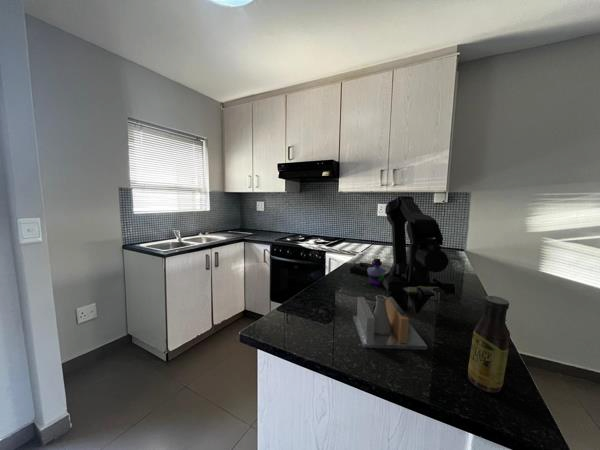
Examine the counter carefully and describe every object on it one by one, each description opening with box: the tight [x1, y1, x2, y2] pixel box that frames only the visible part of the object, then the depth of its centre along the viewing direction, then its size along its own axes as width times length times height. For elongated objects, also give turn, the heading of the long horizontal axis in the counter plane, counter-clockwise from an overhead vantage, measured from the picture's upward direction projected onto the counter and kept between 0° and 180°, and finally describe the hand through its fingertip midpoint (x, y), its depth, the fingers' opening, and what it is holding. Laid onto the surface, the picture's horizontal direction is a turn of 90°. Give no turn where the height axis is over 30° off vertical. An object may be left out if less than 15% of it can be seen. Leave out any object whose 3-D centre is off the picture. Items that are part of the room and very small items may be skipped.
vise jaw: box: [386, 297, 410, 343], centre depth 75 cm, size 2×14×8 cm, turn 178°
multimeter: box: [349, 262, 391, 282], centre depth 130 cm, size 13×19×5 cm
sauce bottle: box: [467, 295, 511, 394], centre depth 54 cm, size 6×6×20 cm
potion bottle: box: [367, 258, 386, 287], centre depth 115 cm, size 9×9×12 cm
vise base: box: [352, 296, 428, 351], centre depth 75 cm, size 17×16×8 cm
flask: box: [372, 294, 392, 335], centre depth 75 cm, size 7×7×10 cm
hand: (416, 312), depth 74 cm, fingers closed
